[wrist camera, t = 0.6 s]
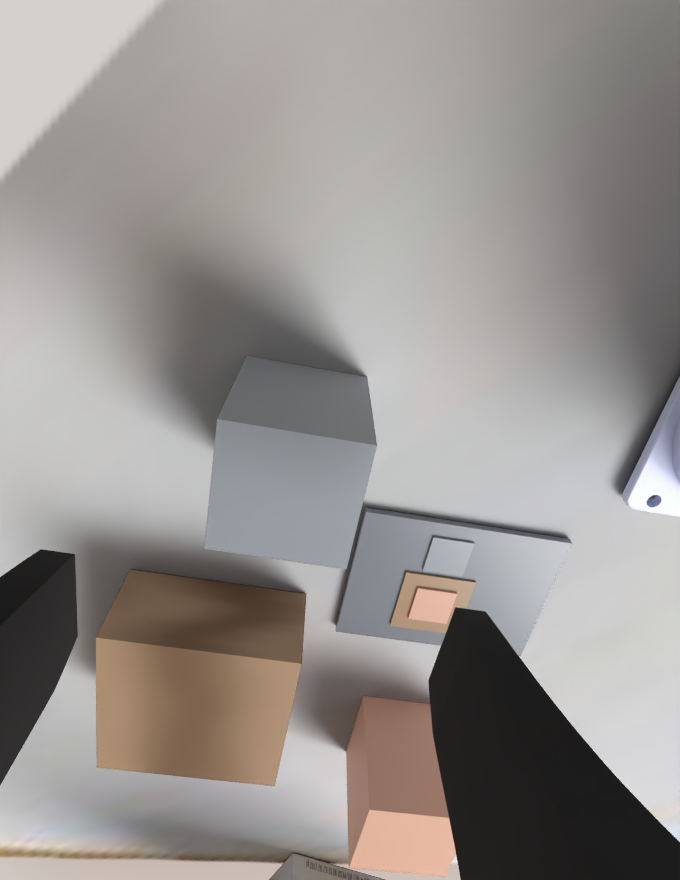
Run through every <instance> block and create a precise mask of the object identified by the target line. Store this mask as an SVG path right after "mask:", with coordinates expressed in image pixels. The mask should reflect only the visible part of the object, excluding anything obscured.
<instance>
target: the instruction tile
mask: <svg viewBox="0 0 680 880" xmlns="http://www.w3.org/2000/svg"><path fill="white" fill-rule="evenodd" d="M571 546H572V542H571V541H570V539H567V538H561V537H554V536H548V535H541V534H535V533H528V532H522V531H515V530H509V529H502V528H496V527H489V526H483V525H476V524H470V523H464V522H457V521H451V520H444V519H438V518H431V517H425V516H418V515H412V514H405V513H399V512H392V511H386V510H379V509H373V508H367V507H365V512H364V516H363V520H362V524H361V528H360V532H359V536H358V540H357V544H356V548H355V552H354V556H353V560H352V564H351V568H350V572H349V576H348V580H347V584H346V588H345V592H344V596H343V600H342V604H341V608H340V612H339V616H338V620H337V624H336V632H344V633H351V634H359V635H366V636H374V637H381V638H389V639H396V640H404V641H411V642H419V643H426V644H434V645H442V642H443V640H444V637H445V634H446V631H447V629H448V626H449V623H450V620H451V618H452V615H453V612H454V609H455V607H457V608H464V609H472V610H479V611H486V613H487V614H488V615H489V617H490V618H491V619H492V620H493V622H494V623H495V625H496V626H497V627H498V629H499V630H500V631H501V633H502V634H503V635H504V637H505V638H506V640H507V641H508V642H509V644H510V645H511V646H512V648H513V649H514V651H515V652H516V653H517V655H518V656H521V654H522V652H523V650H524V647H525V645H526V643H527V641H528V639H529V637H530V634H531V632H532V630H533V628H534V626H535V624H536V621H537V619H538V617H539V615H540V613H541V611H542V608H543V606H544V604H545V602H546V600H547V598H548V595H549V593H550V591H551V589H552V587H553V585H554V582H555V580H556V578H557V576H558V574H559V572H560V569H561V567H562V565H563V563H564V561H565V559H566V556H567V554H568V552H569V550H570V548H571Z"/></svg>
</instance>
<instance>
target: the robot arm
mask: <svg viewBox="0 0 680 880" xmlns="http://www.w3.org/2000/svg"><path fill="white" fill-rule="evenodd" d="M653 495H656V496H655V497H654V498H653V499H652V500H650V501H647V500H648V498H649V497H651V496H653ZM622 497H623V501H624V502H625V503H626V504H627V505H628V506H629V508H631V509H634V510H639V511H645V512H651V513H658V514H664V515H670V516H676V517H680V376H679V379H678V381H677V383H676V385H675V387H674V389H673V391H672V393H671V395H670V397H669V399H668V401H667V403H666V405H665V407H664V409H663V411H662V413H661V416H660V418H659V420H658V422H657V424H656V426H655V428H654V430H653V432H652V434H651V436H650V438H649V440H648V442H647V444H646V446H645V448H644V450H643V452H642V455H641V457H640V459H639V461H638V463H637V465H636V467H635V469H634V471H633V473H632V475H631V477H630V479H629V481H628V483H627V485H626V487H625V489H624V492H623V495H622ZM77 636H78V633H77V603H76V574H75V554H70V553H62V552H55V551H48V550H39V551H38V552H36V553H35V554H33V555H32V556H30V557H29V558H27V559H26V560H24V561H23V562H21V563H20V564H18V565H17V566H16V567H14V568H13V569H11V570H10V571H8V572H7V573H6V574H4V575H3V576H1V577H0V785H1V783H2V781H3V779H4V778H5V776H6V774H7V772H8V771H9V769H10V767H11V765H12V764H13V762H14V760H15V759H16V757H17V755H18V753H19V752H20V750H21V748H22V746H23V745H24V743H25V741H26V739H27V738H28V736H29V734H30V732H31V731H32V729H33V727H34V725H35V724H36V722H37V720H38V718H39V717H40V715H41V713H42V711H43V710H44V708H45V706H46V704H47V703H48V701H49V699H50V697H51V695H52V694H53V692H54V690H55V688H56V685H57V683H58V681H59V679H60V676H61V674H62V672H63V670H64V667H65V665H66V663H67V660H68V658H69V656H70V653H71V651H72V648H73V646H74V643H75V641H76V639H77ZM429 693H430V708H431V720H432V731H433V738H434V743H435V749H436V754H437V759H438V765H439V770H440V775H441V780H442V785H443V790H444V795H445V800H446V805H447V810H448V815H449V820H450V825H451V830H452V835H453V840H454V845H455V850H456V855H457V860H458V865H459V872H460V878H461V880H680V842H679V841H678V840H677V839H676V838H675V837H674V836H673V835H672V834H671V833H670V832H669V831H668V830H667V829H666V828H665V827H664V826H663V825H662V824H661V823H660V822H659V821H658V820H657V819H656V818H655V817H654V816H653V815H652V814H651V813H650V812H649V811H648V810H647V809H646V808H645V807H644V806H643V805H642V804H641V802H640V801H639V800H638V799H637V798H636V797H635V796H634V795H633V794H632V793H631V792H630V791H629V790H628V789H627V788H626V787H625V786H624V785H623V784H622V783H621V781H620V780H619V779H618V778H617V777H616V776H615V775H614V774H613V773H612V772H611V770H610V769H609V768H608V767H607V766H606V765H605V764H604V763H603V761H602V760H601V759H600V758H599V757H598V755H597V754H596V753H595V752H594V751H593V750H592V748H591V747H590V746H589V745H588V744H587V743H586V741H585V740H584V739H583V738H582V737H581V736H580V734H579V733H578V732H577V731H576V730H575V728H574V727H573V726H572V725H571V723H570V722H569V721H568V720H567V719H566V717H565V716H564V715H563V714H562V712H561V711H560V710H559V709H558V707H557V706H556V705H555V704H554V702H553V701H552V700H551V698H550V697H549V696H548V695H547V693H546V692H545V691H544V689H543V688H542V687H541V685H540V684H539V683H538V682H537V680H536V679H535V678H534V676H533V675H532V674H531V672H530V671H529V670H528V668H527V667H526V665H525V664H524V663H523V661H522V660H521V659H520V657H519V656H518V655H517V653H516V652H515V651H514V649H513V648H512V646H511V645H510V644H509V642H508V641H507V640H506V638H505V637H504V635H503V634H502V633H501V631H500V630H499V629H498V627H497V626H496V625H495V623H494V622H493V620H492V619H491V618H490V617H489V615H488V614H487V613H486V611H479V610H472V609H464V608H457V607H455V609H454V612H453V615H452V618H451V620H450V623H449V626H448V629H447V631H446V634H445V637H444V640H443V642H442V645H441V648H440V651H439V653H438V656H437V659H436V662H435V664H434V667H433V670H432V673H431V675H430V678H429Z"/></svg>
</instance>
